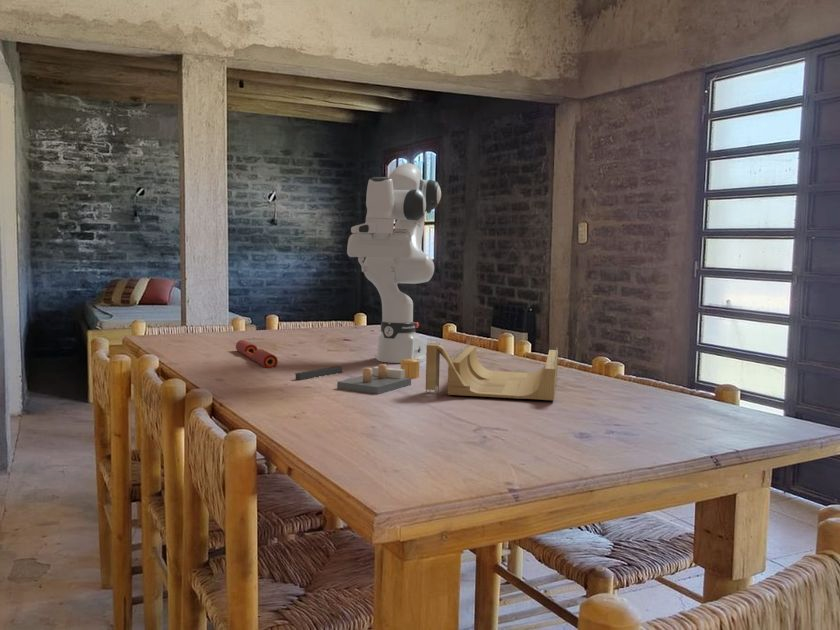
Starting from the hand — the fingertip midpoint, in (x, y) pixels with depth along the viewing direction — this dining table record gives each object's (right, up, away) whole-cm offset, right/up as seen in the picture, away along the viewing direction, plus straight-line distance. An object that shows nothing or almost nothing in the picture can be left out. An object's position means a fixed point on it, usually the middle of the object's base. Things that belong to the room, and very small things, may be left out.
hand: (378, 272), depth 235 cm
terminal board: (0, -35, -17) cm, 39 cm away
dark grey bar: (-13, -32, -3) cm, 34 cm away
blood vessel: (-46, -30, +31) cm, 63 cm away
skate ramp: (+36, -36, -12) cm, 52 cm away
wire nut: (+10, -33, 0) cm, 35 cm away
